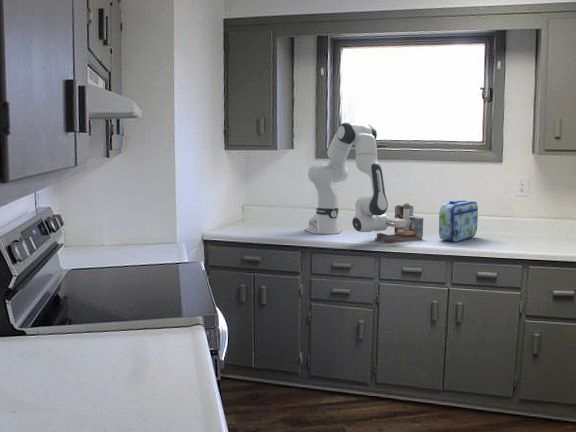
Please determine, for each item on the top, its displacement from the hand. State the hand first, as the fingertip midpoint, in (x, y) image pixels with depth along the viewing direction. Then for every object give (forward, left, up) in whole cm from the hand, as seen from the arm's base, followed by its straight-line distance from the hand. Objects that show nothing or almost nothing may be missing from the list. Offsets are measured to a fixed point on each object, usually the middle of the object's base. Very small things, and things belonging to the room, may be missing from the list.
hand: (400, 220), depth 331 cm
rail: (0, -1, -11) cm, 11 cm away
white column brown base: (0, +4, -8) cm, 9 cm away
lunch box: (+15, +28, -11) cm, 33 cm away
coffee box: (-12, +14, -11) cm, 21 cm away
